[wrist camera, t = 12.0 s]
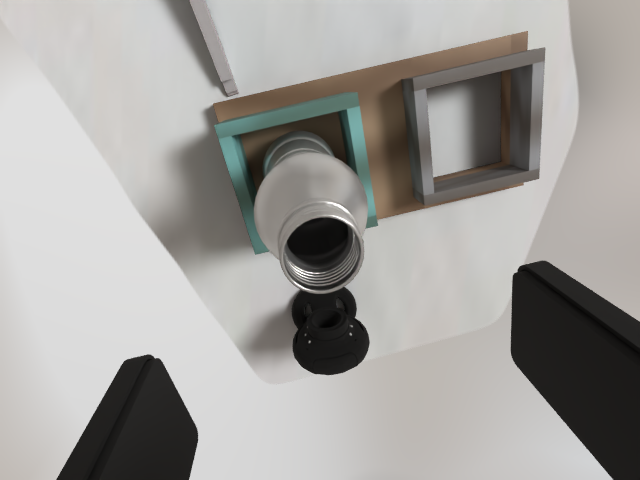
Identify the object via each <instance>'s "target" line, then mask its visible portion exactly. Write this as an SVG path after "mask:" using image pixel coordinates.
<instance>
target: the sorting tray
mask: <svg viewBox="0 0 640 480" xmlns="http://www.w3.org/2000/svg"><path fill="white" fill-rule="evenodd" d="M527 44H528V31H525V32H521V33H517V34H513V35H508V36H504V37H500V38H495V39H491V40H487V41H482V42H478V43H474V44H469V45H465V46H461V47H456V48H452V49H448V50H443V51H439V52H435V53H430V54H426V55H422V56H417V57H413V58H409V59H404V60H400V61H396V62H391V63H387V64H383V65H378V66H374V67H370V68H365V69H361V70H357V71H352V72H348V73H344V74H339V75H335V76H331V77H326V78H322V79H318V80H313V81H309V82H305V83H300V84H296V85H292V86H287V87H283V88H279V89H274V90H270V91H266V92H261V93H257V94H253V95H248V96H244V97H240V98H235V99H231V100H227V101H222V102H218V103H214V104H213V106H214V109H215V112H216V115H217V119H218V122H219V123H218V124H216V125H214V127H215V130H216V133H217V136H218V139H219V143H220V146H221V149H222V152H223V155H224V158H225V161H226V164H227V167H228V171H229V174H230V177H231V180H232V183H233V186H234V189H235V192H236V196H237V199H238V202H239V205H240V208H241V211H242V214H243V217H244V221H245V224H246V227H247V230H248V233H249V236H250V239H251V242H252V246H253V249H254V252H255V255H256V254H260V253H264V252H269V250H268V248H267V247H266V246H265V244H264V243H263V242H262V240H261V238H260V236H259V234H258V232H257V229H256V225H255V221H254V205H255V198H256V195H257V192H258V190H259V187H260V185H261V183H262V182H263V180H264V178H263V171H262V166H263V160H264V157H265V154H266V152H267V150H268V148H269V147H270V145H271V144H272V143H273V142H274V141H275V140H276V139H277V138H279V137H280V136H282V135H284V134H286V133H288V132H293V131H307V132H311V133H313V134H316V135H318V136H319V137H321V138H322V139H323V140H324V141H325V142H326V143H327V144H328V145H329V146H330V148H331V150H332V152H333V154H334V157H335V158H337V159H339V160H341V161H342V162H344V163H345V164H346V165H348V166H349V167H350V168H351V169H352V170H353V171H354V172H355V173H356V174H357V176H358V177H359V179H360V181H361V182H362V184H363V186H364V189H365V192H366V195H367V202H368V215H367V224H366V227H365V229H366V228H370V227H374V226H378V223H377V219H382V218H386V217H390V216H394V215H399V214H403V213H407V212H411V211H416V210H420V209H424V208H428V207H432V206H437V205H441V204H445V203H449V202H454V201H458V200H462V199H466V198H471V197H475V196H479V195H483V194H488V193H492V192H496V191H500V190H505V189H509V188H513V187H517V186H521V185H523V182H528V181H532V180H536V179H539V170H540V149H541V128H542V107H543V86H544V65H545V48H539V49H533V50H527ZM500 71H501V162H498V163H494V164H490V165H485V166H481V167H477V168H472V169H468V170H464V171H460V172H455V173H451V174H447V175H443V176H438V177H434V178H433V169H432V157H431V144H430V131H429V119H428V106H427V93H426V89H427V88H431V87H435V86H440V85H444V84H448V83H453V82H457V81H461V80H465V79H470V78H474V77H478V76H483V75H487V74H491V73H496V72H500Z"/></svg>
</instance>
